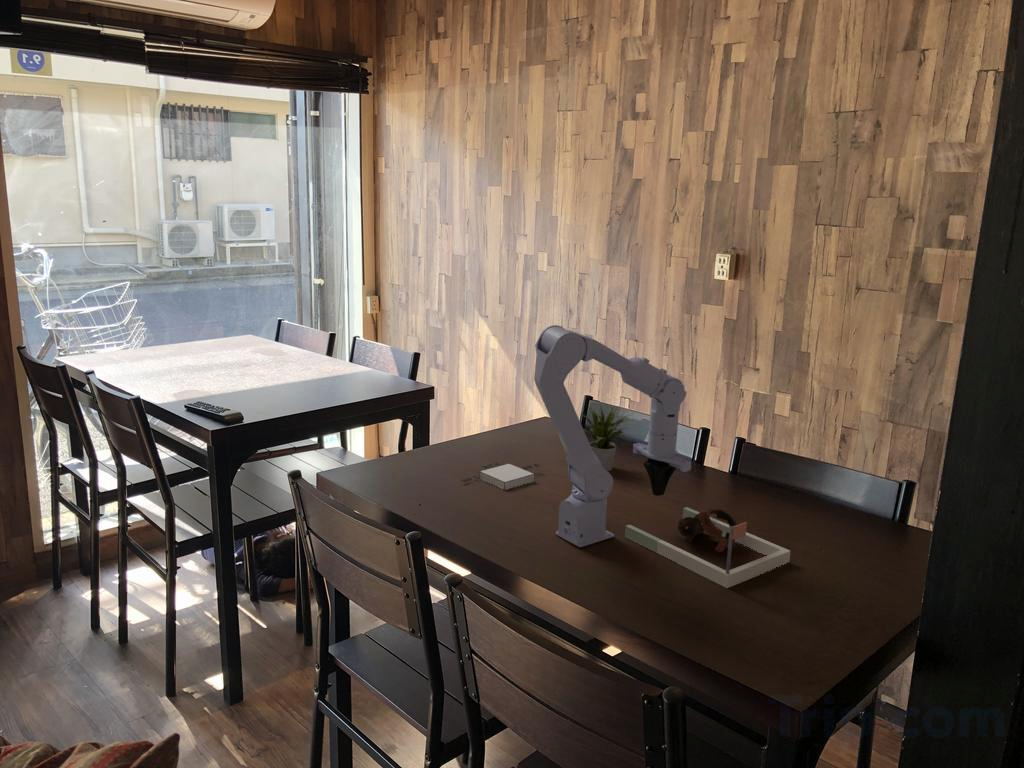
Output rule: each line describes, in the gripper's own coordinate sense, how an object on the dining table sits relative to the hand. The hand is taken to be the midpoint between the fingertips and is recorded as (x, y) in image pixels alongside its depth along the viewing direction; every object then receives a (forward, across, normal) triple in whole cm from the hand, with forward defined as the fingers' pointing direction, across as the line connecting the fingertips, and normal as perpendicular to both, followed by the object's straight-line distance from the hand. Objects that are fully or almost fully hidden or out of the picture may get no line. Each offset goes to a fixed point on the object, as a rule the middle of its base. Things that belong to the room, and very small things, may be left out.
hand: (658, 494), depth 168 cm
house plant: (+8, +33, -15) cm, 37 cm away
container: (+8, +41, +10) cm, 43 cm away
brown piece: (+8, -11, -2) cm, 14 cm away
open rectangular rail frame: (+7, -13, 0) cm, 15 cm away
